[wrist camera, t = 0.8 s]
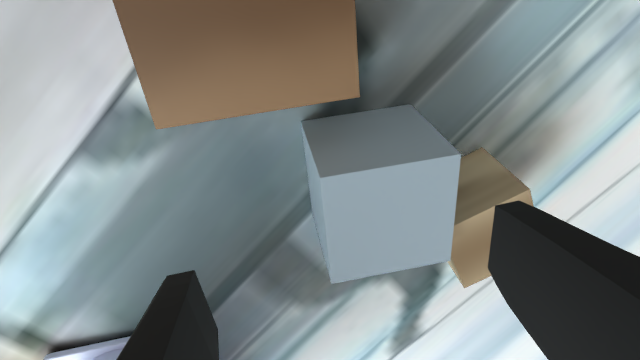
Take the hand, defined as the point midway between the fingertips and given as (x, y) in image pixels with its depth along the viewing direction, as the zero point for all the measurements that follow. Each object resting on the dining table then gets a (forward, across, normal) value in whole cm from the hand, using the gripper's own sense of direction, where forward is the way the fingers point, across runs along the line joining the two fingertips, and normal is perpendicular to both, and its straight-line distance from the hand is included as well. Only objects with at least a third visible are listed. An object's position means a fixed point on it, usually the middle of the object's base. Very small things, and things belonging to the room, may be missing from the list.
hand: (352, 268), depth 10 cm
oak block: (+10, -7, +6) cm, 13 cm away
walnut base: (+10, +1, -5) cm, 11 cm away
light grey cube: (+10, -2, +3) cm, 10 cm away
